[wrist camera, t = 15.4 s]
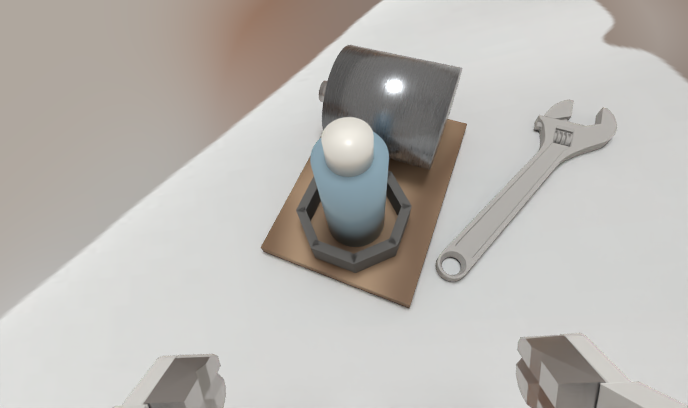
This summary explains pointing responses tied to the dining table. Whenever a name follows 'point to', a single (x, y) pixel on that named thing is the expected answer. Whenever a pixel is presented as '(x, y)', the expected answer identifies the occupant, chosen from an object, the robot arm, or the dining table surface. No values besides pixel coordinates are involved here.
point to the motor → (392, 99)
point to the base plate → (403, 269)
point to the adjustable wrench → (528, 180)
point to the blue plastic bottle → (351, 180)
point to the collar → (362, 257)
